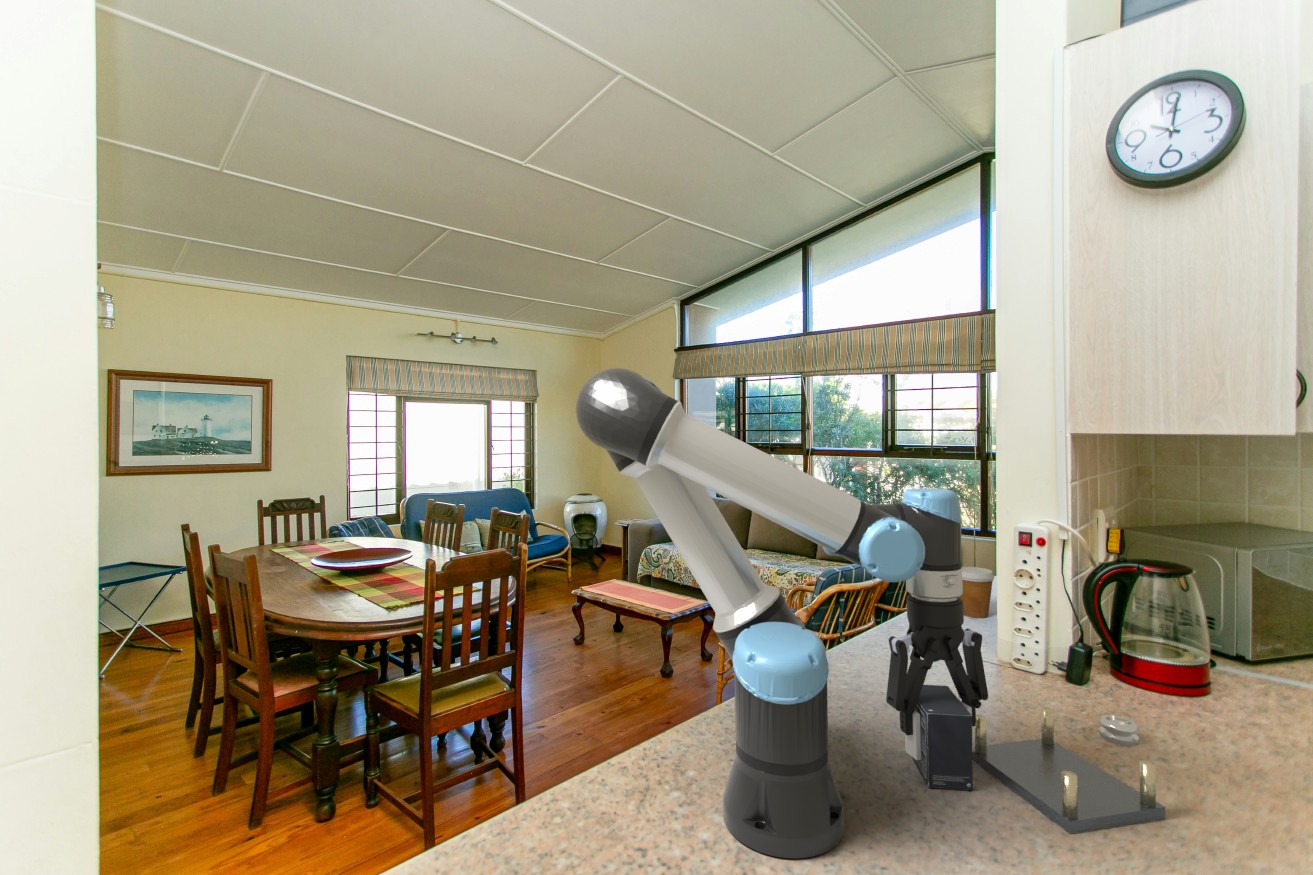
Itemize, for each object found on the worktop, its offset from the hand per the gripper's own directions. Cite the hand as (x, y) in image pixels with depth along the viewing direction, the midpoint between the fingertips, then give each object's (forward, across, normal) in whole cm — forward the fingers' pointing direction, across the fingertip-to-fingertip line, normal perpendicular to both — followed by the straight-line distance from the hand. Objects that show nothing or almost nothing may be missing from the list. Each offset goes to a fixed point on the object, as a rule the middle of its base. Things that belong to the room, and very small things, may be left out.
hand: (938, 751), depth 88 cm
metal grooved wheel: (+3, +33, +2) cm, 34 cm away
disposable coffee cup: (+4, +57, +65) cm, 87 cm away
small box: (+3, 0, 0) cm, 3 cm away
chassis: (+3, +13, -7) cm, 15 cm away
